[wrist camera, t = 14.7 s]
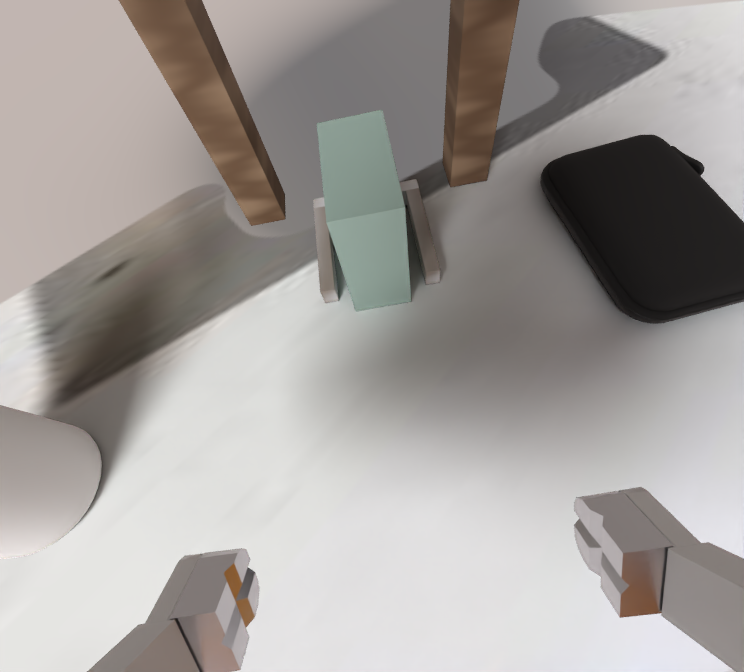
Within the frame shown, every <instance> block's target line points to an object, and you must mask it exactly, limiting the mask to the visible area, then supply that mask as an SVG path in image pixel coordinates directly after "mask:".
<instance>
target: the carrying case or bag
mask: <svg viewBox="0 0 744 672" xmlns="http://www.w3.org/2000/svg"><path fill="white" fill-rule="evenodd" d="M703 172H704V166H703V164H702V163H701V162H699V161H697V160H695V159H693V158H691V157H689V156H687V155H685V154H684V153H682V152H681V151H679V150H678V149H677V148H676V147H674V146H670V145H669V144H668V143H667V142H665V141H664V140H663V139H661V138H660V137H658V136H655V135H638V136H634V137H631V138H627V139H623V140H620V141H616V142H612V143H609V144H605V145H601V146H598V147H594V148H590V149H586V150H583V151H579V152H575V153H572V154H568V155H565V156H562V157H560V158H558V159H555V160H553V161H552V162H550V163H549V164H548V165H547V166H546V167H545V168H544V170H543V172H542V175H541V186H542V189H543V191H544V192H545V194H546V196H547V198H548V199H549V201H550V202H551V204H552V206H553V207H554V209H555V210H556V212H557V213H558V215H559V216H560V218H561V219H562V221H563V223H564V224H565V226H566V227H567V229H568V230H569V232H570V233H571V235H572V236H573V238H574V239H575V241H576V243H577V244H578V246H579V247H580V249H581V250H582V252H583V254H584V255H585V257H586V258H587V260H588V261H589V263H590V265H591V266H592V268H593V269H594V271H595V272H596V274H597V276H598V277H599V279H600V280H601V282H602V283H603V285H604V287H605V288H606V290H607V291H608V293H609V294H610V296H611V297H612V299H613V300H614V301H615V303H616V304H617V306H618V307H619V308H620V309H621V310H622V311H623V312H624V313H625V314H627V315H628V316H630V317H632V318H634V319H636V320H639V321H642V322H646V323H665V322H669V321H673V320H676V319H680V318H684V317H688V316H691V315H695V314H699V313H702V312H706V311H710V310H714V309H717V308H721V307H725V306H729V305H732V304H736V303H740V302H743V301H744V222H743V221H742V220H741V219H740V218H739V217H738V216H737V215H736V214H735V213H734V212H733V210H732V209H731V208H730V207H729V206H728V205H727V204H726V203H725V202H724V201H723V200H722V199H721V198H720V197H719V196H718V194H717V193H716V192H715V191H714V190H713V189H712V188H711V187H710V186H709V185H708V184H707V183H706V182H705V181H704V180H703V178H702V177H701V176H700V175H702V173H703Z"/></svg>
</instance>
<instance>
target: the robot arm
mask: <svg viewBox="0 0 744 672" xmlns="http://www.w3.org/2000/svg"><path fill="white" fill-rule="evenodd" d="M574 511H575V512H576V514H577V515H578V517H579V520H578V521H577V522H576V524H575V525H574V531H575V539H576V543H577V546H578V549H579V552H580V554H581V556H582V558H583V560H584V561H585V563H586V565H587V566H588V568H589V569H590V570H591V571H593V572H595V573H596V574H598V575H599V576H601V589H602V590H603V592H604V593H605V595H606V597H607V598H608V600H609V601H610V603H611V604H612V606H613V608H614V609H615V611H616V612H617V614H618V615H619V617H620V618H621V617H630V616H640V615H649V614H658V613H662V614H661V616H663V617H664V618H665V619H667V620H668V621H669V622H671V623H672V624H673V625H675V626H676V627H677V628H679V629H680V630H681V631H683V632H684V633H685V634H687V635H688V636H689V637H691V638H692V639H693V640H695V641H696V642H697V643H699V644H700V645H701V646H702V647H704V648H705V649H706V650H708V651H709V652H710V653H712V654H713V655H714V656H716V657H717V658H718V659H720V660H721V661H722V662H724V663H725V664H726V665H728V666H729V667H730V668H732V669H733V670H734V671H736V672H744V559H743V558H741V557H739V556H736V555H734V554H732V553H730V552H728V551H726V550H724V549H722V548H719V547H717V546H715V545H713V544H711V543H709V542H708V543H700V542H699V541H698V540H697V539H696V538H695V537H694V536H693V535H692V534H691V533H690V532H689V531H688V530H687V529H686V528H685V527H684V526H683V525H682V524H681V523H680V522H679V521H678V520H677V519H676V518H675V517H674V516H673V515H672V514H671V513H670V512H669V511H668V510H667V509H666V508H665V507H664V506H662V505H661V504H660V503H659V502H658V501H657V500H656V499H655V498H654V497H653V496H652V495H651V494H650V493H649V492H648V491H647V490H646V489H644V488H642V487H638V488H632V489H625V490H619V491H613V492H607V493H601V494H595V495H588V496H582V497H576V499H575V502H574ZM249 562H250V557H249V555H248V552H247V550H246V549H242V548H241V549H233V550H225V551H216V552H208V553H204V554H195V555H187V556H184V557H183V558H182V559H181V560H179V562H178V563H177V565H176V567H175V569H174V571H173V573H172V574H171V576H170V578H169V580H168V582H167V584H166V586H165V587H164V589H163V591H162V593H161V595H160V597H159V598H158V600H157V602H156V604H155V606H154V608H153V610H152V611H151V613H150V615H149V617H148V619H147V621H146V623H145V624H140V625H138V626H137V627H136V628H134V629H133V630H132V631H131V632H130V633H129V634H128V635H127V636H126V637H125V638H123V639H122V640H121V641H120V642H119V643H118V644H117V645H116V646H115V647H114V648H113V649H111V650H110V651H109V652H108V653H107V654H106V655H105V656H104V657H103V658H102V659H101V660H99V661H98V662H97V663H96V664H95V665H94V666H93V667H92V668H91V669H90V670H89V671H87V672H231V671H237V670H240V669H241V666H242V662H243V659H244V655H245V651H246V648H247V644H248V641H249V635H248V632H247V630H246V627H247V626H248V625H249V623H250V622H251V621H252V620H253V619H254V617H255V615H256V611H257V607H258V600H259V585H258V579H257V576H256V573H255V572H254V571H252V570H251V569H250V568H248V565H249Z"/></svg>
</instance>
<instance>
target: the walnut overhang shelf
mask: <svg viewBox="0 0 744 672" xmlns="http://www.w3.org/2000/svg"><path fill="white" fill-rule="evenodd" d="M119 1H120V3H121V5H122V6H123V8H124V10H125V12H126V13H127V15H128V17H129V19H130V20H131V22H132V24H133V25H134V27H135V29H136V30H137V32H138V34H139V36H140V37H141V39H142V41H143V42H144V44H145V45H146V48H147V49H148V51H149V53H150V54H151V56H152V58H153V59H154V61H155V63H156V65H157V66H158V68H159V69H160V71H161V73H162V75H163V76H164V78H165V80H166V82H167V83H168V85H169V87H170V88H171V90H172V92H173V93H174V95H175V97H176V99H177V100H178V102H179V104H180V105H181V107H182V109H183V110H184V112H185V114H186V116H187V117H188V119H189V121H190V122H191V124H192V126H193V128H194V129H195V131H196V133H197V134H198V136H199V138H200V139H201V141H202V143H203V145H204V146H205V148H206V150H207V151H208V153H209V154H210V156H211V158H212V160H213V161H214V163H215V165H216V167H217V168H218V170H219V172H220V174H221V175H222V177H223V179H224V180H225V182H226V184H227V185H228V187H229V189H230V191H231V192H232V194H233V195H234V197H235V199H236V201H237V202H238V204H239V206H240V208H241V209H242V211H243V213H244V214H245V216H246V218H247V219H248V221H249V222H250V224H251V226H253V225H258V224H263V223H269V222H274V221H279V220H284V219H285V194H284V191H283V189H282V187H281V184H280V182H279V179H278V177H277V175H276V172H275V170H274V168H273V166H272V163H271V161H270V159H269V156H268V154H267V151H266V149H265V147H264V144H263V142H262V140H261V137H260V135H259V133H258V131H257V128H256V126H255V123H254V121H253V119H252V116H251V114H250V112H249V109H248V108H247V105H246V102H245V100H244V98H243V95H242V93H241V91H240V88H239V86H238V84H237V81H236V79H235V77H234V75H233V72H232V70H231V67H230V65H229V63H228V60H227V58H226V56H225V54H224V51H223V49H222V46H221V44H220V42H219V39H218V37H217V35H216V32H215V30H214V28H213V25H212V23H211V21H210V18H209V16H208V14H207V11H206V9H205V7H204V4H203V2H202V0H119ZM518 5H519V0H451V4H450V24H449V44H448V66H447V85H446V105H445V125H444V146H443V166H444V169H445V172H446V175H447V178H448V181H449V184H450V187H455V186H460V185H465V184H470V183H475V182H480V181H486V180H487V176H488V171H489V165H490V160H491V154H492V149H493V143H494V138H495V132H496V127H497V121H498V115H499V110H500V105H501V99H502V94H503V88H504V83H505V77H506V72H507V66H508V61H509V55H510V50H511V44H512V39H513V33H514V28H515V22H516V17H517V11H518ZM399 183H400V187H401V192H402V196H403V200H404V205H407V207H408V212H409V216H410V220H411V224H412V228H413V233H414V237H415V241H416V245H417V250H418V254H419V258H420V262H421V267H422V271H423V275H424V279H425V283H426V285H428V284H434V283H439V282H440V267H439V263H438V259H437V255H436V251H435V248H434V244H433V240H432V236H431V232H430V229H429V225H428V221H427V217H426V213H425V210H424V206H423V202H422V198H421V195H420V191H419V187H418V183H417V179H414V180H409V181H404V182H399ZM313 202H314V203H313V204H314V217H315V229H316V242H317V255H318V267H319V280H320V292H321V294H322V296H323V299H324V301H325V303H328V302H334V301H339V297H338V287H337V278H336V268H335V259H334V249H333V241H332V238H331V235H330V232H329V229H328V226H327V223H326V213H325V203H324V197H322V198H317V199H313Z"/></svg>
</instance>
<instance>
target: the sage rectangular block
mask: <svg viewBox="0 0 744 672" xmlns="http://www.w3.org/2000/svg"><path fill="white" fill-rule="evenodd" d="M317 132H318V142H319V153H320V163H321V173H322V183H323V193H324V203H325V213H326V223H327V226H328V229H329V232H330V235H331V238H332V241H333V244H334V247H335V250H336V253H337V256H338V259H339V262H340V265H341V268H342V271H343V274H344V277H345V280H346V283H347V286H348V289H349V292H350V295H351V298H352V301H353V304H354V307H355V310H356V311H362V310H367V309H373V308H378V307H384V306H390V305H395V304H401V303H406V302H411V291H410V276H409V260H408V244H407V229H406V213H405V205H404V200H403V196H402V192H401V187H400V183H399V179H398V175H397V170H396V166H395V162H394V158H393V153H392V149H391V145H390V141H389V136H388V132H387V128H386V123H385V119H384V115H383V111H382V110H378V111H374V112H368V113H364V114H359V115H354V116H349V117H344V118H340V119H335V120H330V121H325V122H320V123H317Z"/></svg>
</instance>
